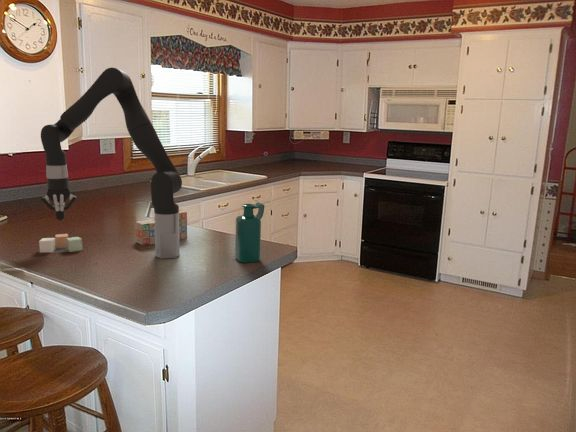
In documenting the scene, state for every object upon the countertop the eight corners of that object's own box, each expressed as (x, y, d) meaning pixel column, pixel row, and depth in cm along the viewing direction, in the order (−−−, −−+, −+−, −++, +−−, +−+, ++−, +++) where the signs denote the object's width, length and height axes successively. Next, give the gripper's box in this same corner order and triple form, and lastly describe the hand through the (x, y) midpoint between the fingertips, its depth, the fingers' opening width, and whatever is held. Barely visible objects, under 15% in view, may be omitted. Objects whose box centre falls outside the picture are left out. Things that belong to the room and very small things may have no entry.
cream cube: (52, 252, 182) (51, 240, 181) (39, 252, 181) (39, 241, 180) (55, 249, 186) (55, 237, 185) (43, 249, 185) (42, 238, 184)
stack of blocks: (142, 245, 198) (141, 217, 195) (136, 242, 202) (135, 214, 200) (187, 238, 212) (187, 211, 210) (180, 235, 217) (179, 209, 214)
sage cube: (82, 250, 186) (81, 239, 185) (70, 251, 183) (69, 240, 182) (79, 247, 189) (78, 236, 188) (67, 249, 186) (66, 238, 185)
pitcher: (240, 263, 178) (241, 206, 174) (233, 257, 186) (234, 202, 181) (264, 261, 182) (266, 205, 178) (257, 255, 190) (258, 201, 185)
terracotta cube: (69, 247, 189) (68, 236, 188) (56, 248, 187) (55, 237, 186) (68, 244, 193) (67, 233, 192) (56, 245, 191) (55, 234, 190)
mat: (81, 253, 185) (81, 251, 185) (38, 255, 180) (38, 253, 180) (83, 245, 195) (83, 243, 195) (42, 247, 190) (42, 245, 190)
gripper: (36, 178, 178) (40, 223, 182) (75, 177, 183) (78, 221, 186) (40, 175, 185) (43, 219, 189) (76, 175, 190) (79, 217, 193)
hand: (60, 220), depth 188 cm, fingers closed
